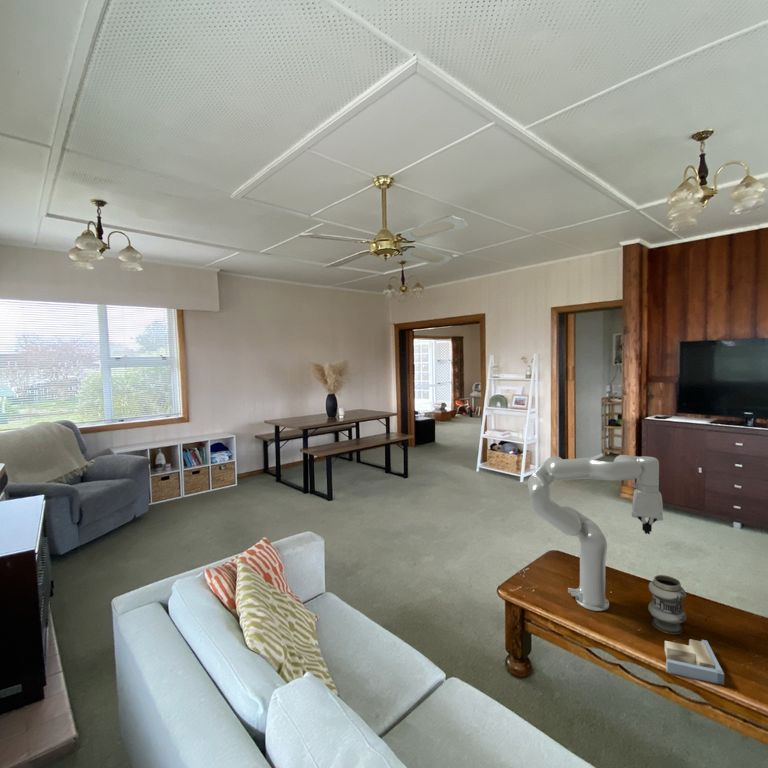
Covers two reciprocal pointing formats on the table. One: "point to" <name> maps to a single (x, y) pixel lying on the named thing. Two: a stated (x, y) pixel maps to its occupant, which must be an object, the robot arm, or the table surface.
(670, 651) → the t block
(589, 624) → the table surface
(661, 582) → the apothecary jar
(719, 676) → the fence
